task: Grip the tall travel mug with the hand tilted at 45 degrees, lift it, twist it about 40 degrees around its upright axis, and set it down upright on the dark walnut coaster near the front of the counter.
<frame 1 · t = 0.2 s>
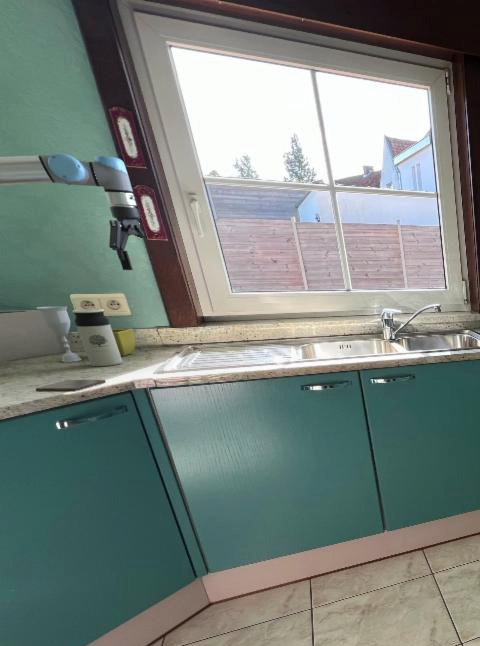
hand: (142, 269, 183), 30 cm above the worktop, tool pointing down, fingers open, 13 cm apart
flower pot: (120, 355, 181), on the worktop
travel mug: (107, 364, 167), on the worktop
chalice: (72, 361, 171), on the worktop
coaster: (72, 386, 141), on the worktop
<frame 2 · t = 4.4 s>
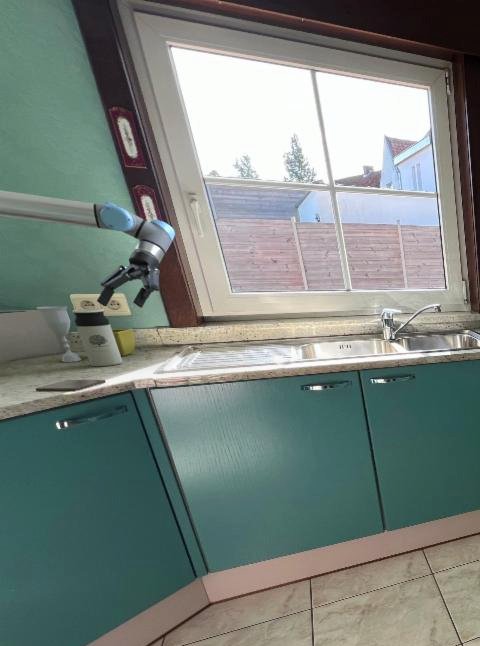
hand: (119, 304, 170), 19 cm above the worktop, tool tilted 45°, fingers open, 13 cm apart
nothing on the worktop moved.
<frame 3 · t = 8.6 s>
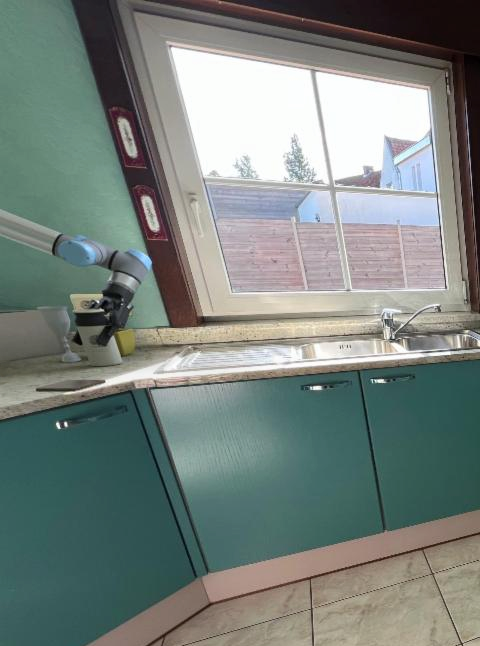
hand: (88, 343, 161), 8 cm above the worktop, tool tilted 45°, fingers closed on travel mug, 8 cm apart
travel mug: (107, 364, 167), on the worktop, touching gripper
everything else where it was.
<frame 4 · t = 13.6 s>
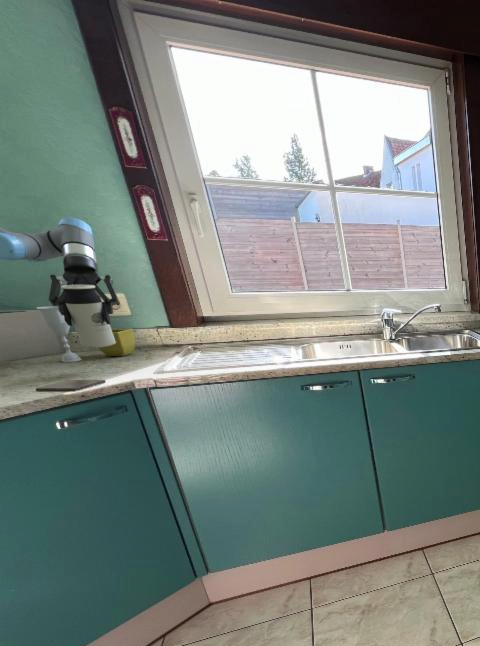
hand: (88, 322, 150), 16 cm above the worktop, tool tilted 40°, fingers closed on travel mug, 8 cm apart
travel mug: (99, 345, 156), point 8 cm above the worktop, touching gripper
everything else where it was.
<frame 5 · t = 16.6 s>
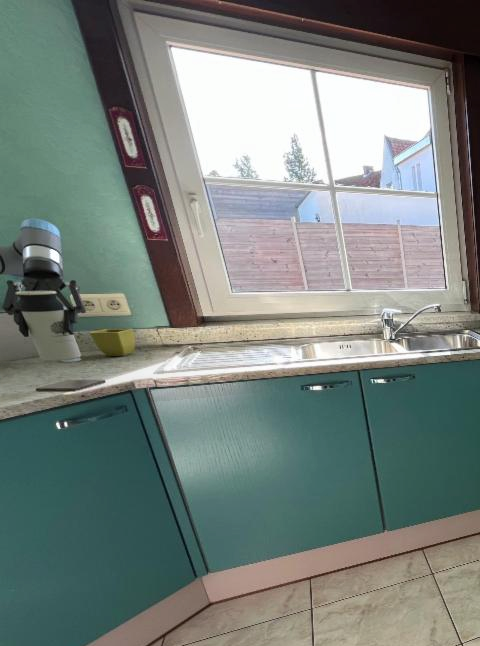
hand: (47, 332, 132), 16 cm above the worktop, tool tilted 45°, fingers closed on travel mug, 8 cm apart
travel mug: (62, 359, 138), point 8 cm above the worktop, touching gripper
everything else where it was.
when the fingers open (8 cm above the worktop, at t = 19.1 s): travel mug stays where it is, resting on coaster.
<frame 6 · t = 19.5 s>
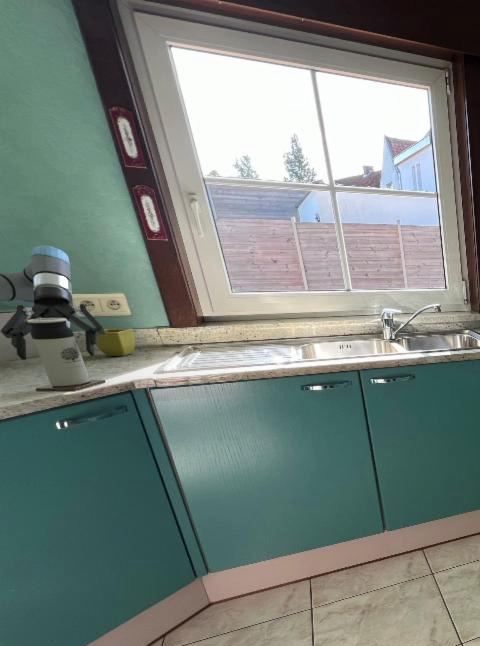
hand: (56, 354, 135), 9 cm above the worktop, tool tilted 45°, fingers open, 13 cm apart
travel mug: (71, 384, 141), point 1 cm above the worktop, touching coaster
everything else where it was.
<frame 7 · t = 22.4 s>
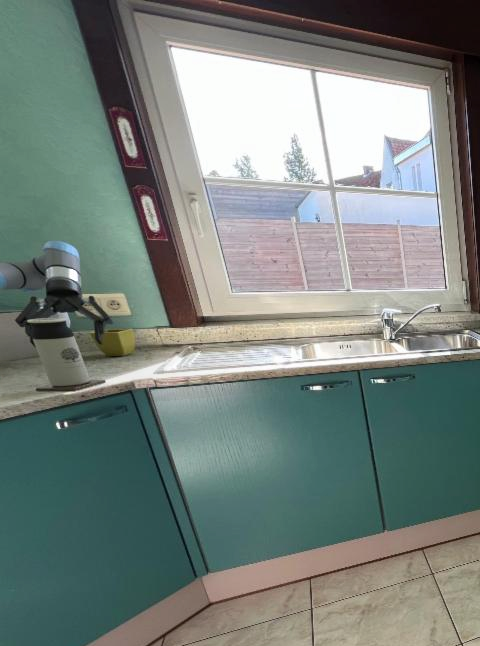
hand: (67, 343, 144), 11 cm above the worktop, tool tilted 45°, fingers open, 13 cm apart
nothing on the worktop moved.
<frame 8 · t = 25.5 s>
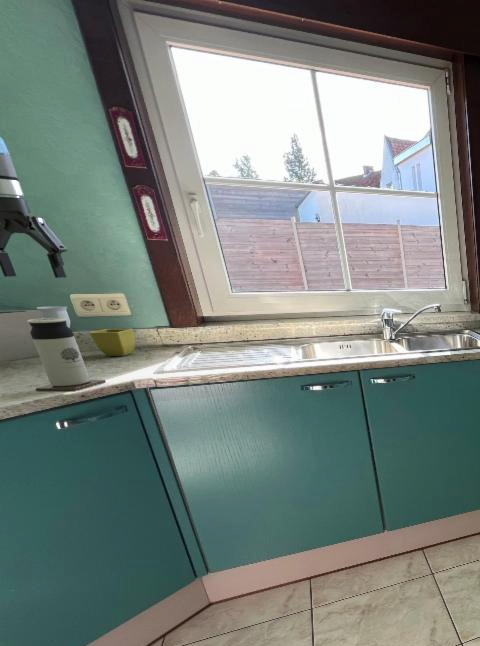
hand: (35, 277, 145), 29 cm above the worktop, tool pointing down, fingers open, 13 cm apart
nothing on the worktop moved.
at the end: travel mug inside the target area on the coaster (0.1 cm from its centre), point 0.6 cm above the coaster's base; travel mug tilted 0°; the gripper is holding nothing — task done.
